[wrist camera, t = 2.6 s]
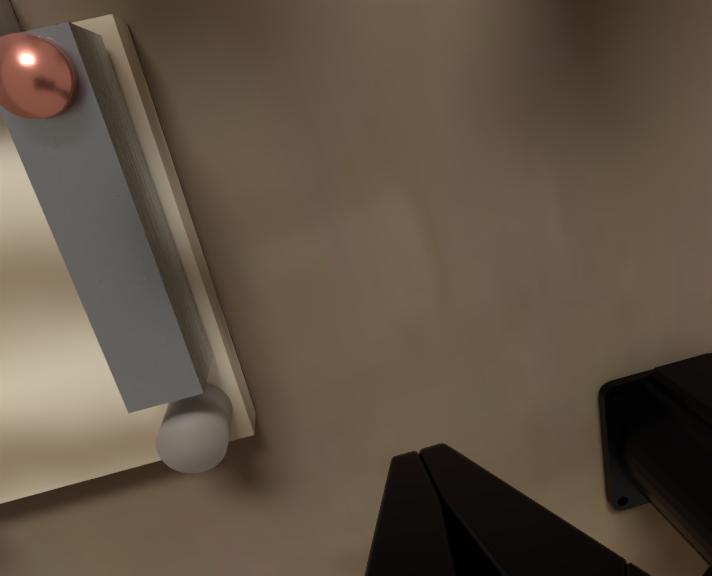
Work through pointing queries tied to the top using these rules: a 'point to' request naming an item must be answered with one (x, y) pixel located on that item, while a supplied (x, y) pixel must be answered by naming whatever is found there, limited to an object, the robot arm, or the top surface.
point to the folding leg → (103, 211)
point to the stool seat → (78, 341)
